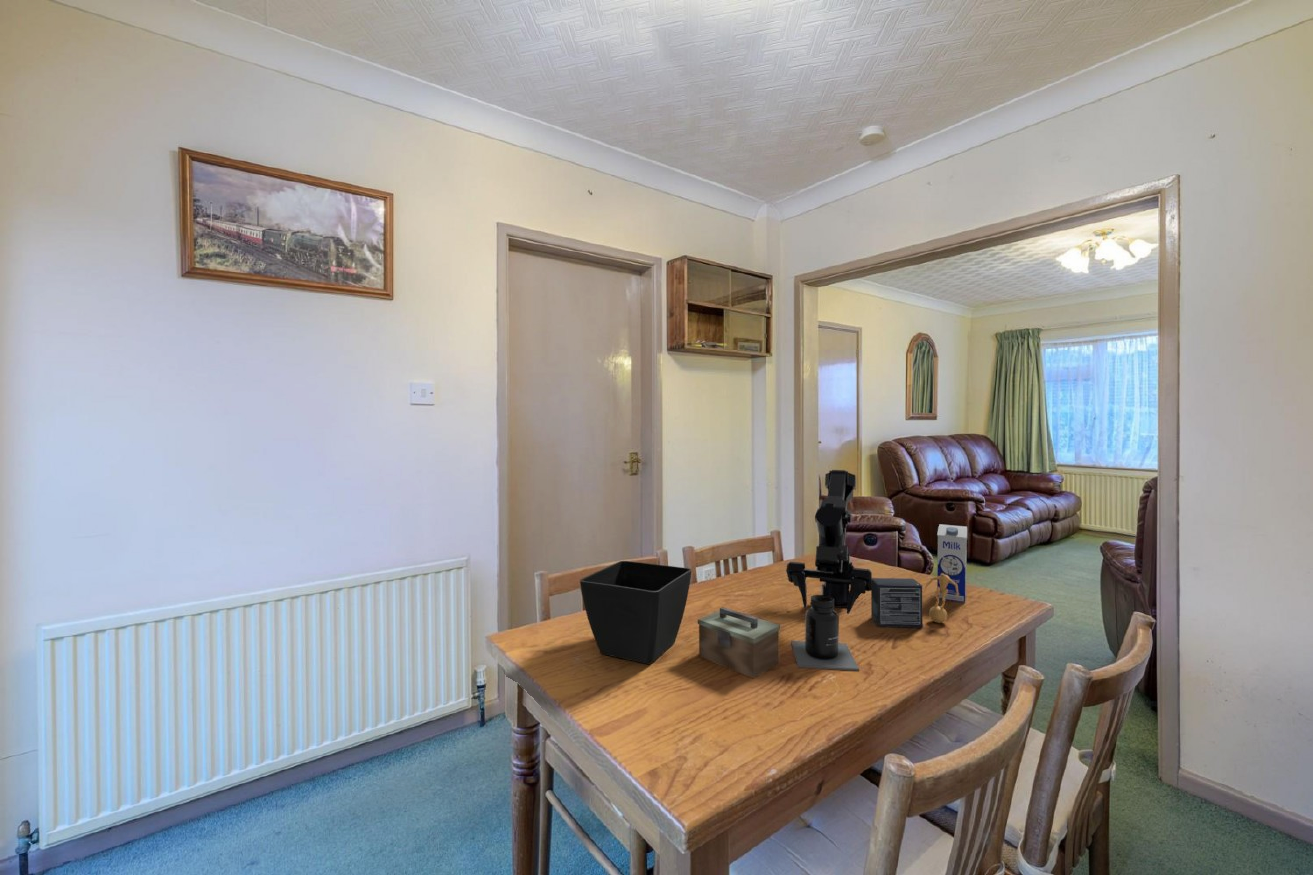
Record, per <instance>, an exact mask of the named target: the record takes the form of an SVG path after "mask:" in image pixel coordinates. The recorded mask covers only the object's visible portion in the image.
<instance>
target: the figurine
mask: <svg viewBox="0 0 1313 875" xmlns="http://www.w3.org/2000/svg"><path fill="white" fill-rule="evenodd" d="M938 579H939V584H940V588H939V587H937V586H936V590H935V592H934V598H935V599H936V603H935V604H934V605H933V606H932V607H930V609H929V611H928V615H929V618H930V619H931V621H932V622H934V623H937V624H942V623H945V622H946V620H947V619H948V612H947V610H946V609H945V608H944V606H945V602H946V600H945V599H944V598H945V597H946V595H947V593H948V589H946V587H947V585H948V583H949V582H950V583H952V584H953V585H955V588H956V592H957V594H956V595H957V596H956V597H957V598H959V593H958V585H957V584H956V583H955V582H953V581H952V580H951V579H950V578H949V576H948V575H945V574H943V573H941V575H940V576H938V577H937V576H935V577H932V578H930V580H929V581H928V582H927V584H925V587H924V590H926V589H927V587H928V586H929V585H930V584H931V583H932V582H933V581H936V580H938ZM940 592H942V593H941V594H942V599H941V600H942V604H941V605H940V606H939V603H940V599H939V597H937V596H938V595H939V594H940Z"/></svg>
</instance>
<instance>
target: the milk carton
mask: <svg viewBox="0 0 1313 875" xmlns="http://www.w3.org/2000/svg"><path fill="white" fill-rule="evenodd" d="M938 525H939V526H938V527H937V534H936V536H937V569H936V570H937V572H936V573H937V576H936V577H938V576H940V575H941V573H943V574H945V575H948V576H949V578H950V579H951V580H952V581H953V582H955V583H956V584H957V585H958V593H959V598H957V597H956V596H957V595H956V594H957V592H956V588H955V585H953V584H952V583H950V582H949V583H948V585H947V587H946V589H948V593H947V595H946V597H945V598H944V599H945V601H949V600H951V602H956V601H957V602H958V603H963V604H965V603H966V600H967V599H966V597H967V551H968V550H967V549H968V547H967V544H968V543H967V540H968V526H964V525H952V524H951V525H950V524H938ZM936 585H937V586H936V588H937V587H939V588H940V584H939V579H938V580H937V583H936ZM941 593H942V592H940V594H939V595H938V596H937V597H939V600H942V594H941ZM957 602H956V603H957Z"/></svg>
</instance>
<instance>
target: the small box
mask: <svg viewBox="0 0 1313 875" xmlns="http://www.w3.org/2000/svg"><path fill="white" fill-rule="evenodd" d="M923 586H924V585H922V584H921V583H919V582H918V581H917V580H916V579H914V578H905V577H904V578H900V577H899V578H897V577H895V578H894V577H893V578H892V577H891V578H889V577H888V578H887V577H872V590H871V591H870V602H871V605H870V608H871V610H870V611H871V612H870V613H871V615H870V618H871V620H872V621H873V622H874V623H875V624H876V626H877V627H878V628H917V629H922V628H924V624H923Z"/></svg>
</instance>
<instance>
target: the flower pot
mask: <svg viewBox="0 0 1313 875" xmlns="http://www.w3.org/2000/svg"><path fill="white" fill-rule="evenodd" d="M691 578H692V569H691V568H690V567H681V566H673V565H663V564H657V563H647V562H640V561H629V560H620V561H618V562H615V563H613V564H610V565H609V566H606V567H604V568H602V569H600V570H597V571H596V572H593V573H591V574H589V575H587V576H584V577H583V578H581V579H579V584H580V590H581V596H582V600H583V605H584V610H585V613H586V618H587V620H588V624H589V627H590V630H591V633H592V635H593V637H594V640H595V643H596V646H597V648H598V650H599V653H600V654H602V655H606V656H610V657H615V658H619V659H624V660H628V661H634V662H638V663H642V664H648V665H650V664H652V663H654V662H655V661H657V659H658V658H660V657H661V655H663V654H664V653H665V652H666V651H667V650H668V649H670V647H672V646H673V645H674V644H675V642H676V640H677V637H678V634H679V630H680V627H681V624H682V620H683V617H684V614H685V613H684V612H685V609H686V605H687V601H688V595H689V591H690V584H691Z"/></svg>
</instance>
